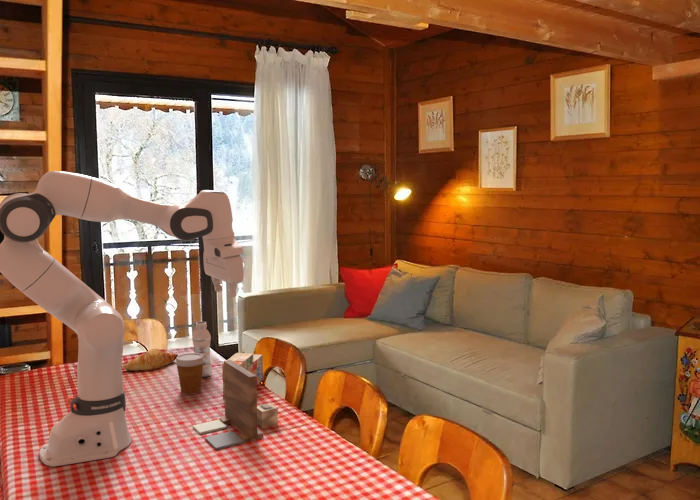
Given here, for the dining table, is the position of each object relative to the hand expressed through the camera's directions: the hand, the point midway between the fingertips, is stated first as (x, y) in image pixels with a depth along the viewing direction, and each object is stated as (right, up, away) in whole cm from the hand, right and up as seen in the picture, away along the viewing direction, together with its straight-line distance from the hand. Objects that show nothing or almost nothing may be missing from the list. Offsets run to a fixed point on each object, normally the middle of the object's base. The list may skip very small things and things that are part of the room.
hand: (225, 294), depth 178 cm
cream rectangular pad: (-5, -39, 0) cm, 39 cm away
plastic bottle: (-18, -33, +47) cm, 60 cm away
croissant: (-40, -32, +59) cm, 78 cm away
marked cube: (+11, -38, +4) cm, 40 cm away
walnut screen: (+5, -39, -1) cm, 39 cm away
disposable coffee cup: (-18, -35, +31) cm, 50 cm away
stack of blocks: (0, -35, +33) cm, 48 cm away
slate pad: (+2, -40, -9) cm, 41 cm away
